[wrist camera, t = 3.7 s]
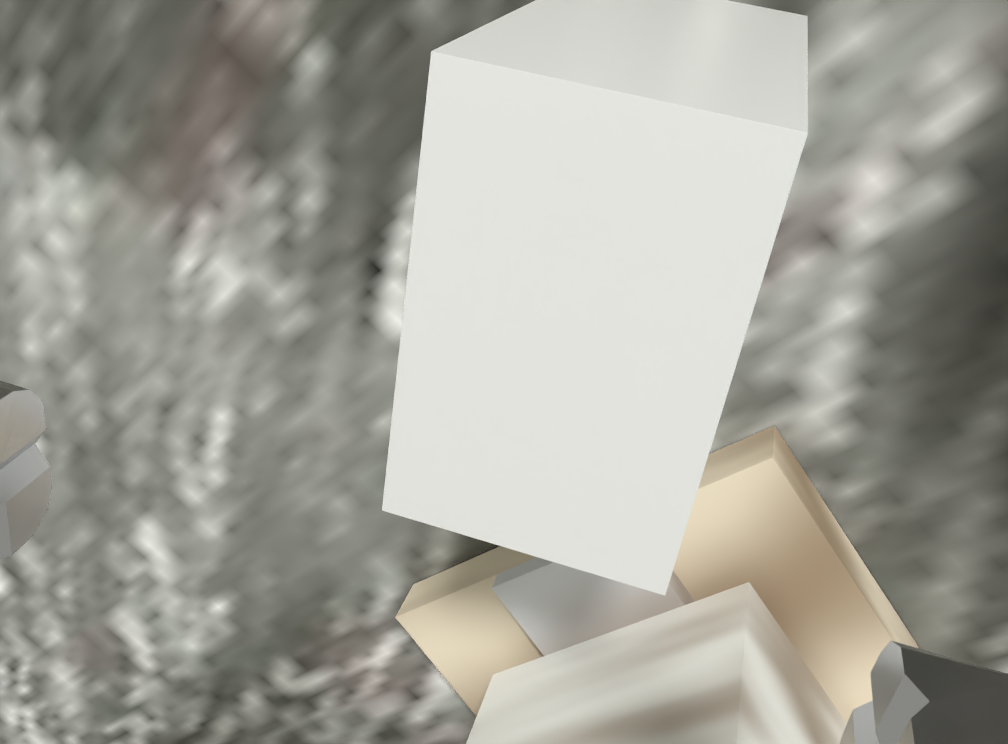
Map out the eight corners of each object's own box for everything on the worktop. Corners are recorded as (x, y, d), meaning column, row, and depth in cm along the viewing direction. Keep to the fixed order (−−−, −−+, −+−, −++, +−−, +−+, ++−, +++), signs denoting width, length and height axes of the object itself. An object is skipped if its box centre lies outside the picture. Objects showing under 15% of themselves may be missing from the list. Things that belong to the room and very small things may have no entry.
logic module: (807, 15, 19) (807, 132, 11) (717, 323, 23) (665, 595, 14) (587, -28, 20) (427, 50, 12) (533, 276, 24) (378, 509, 15)
